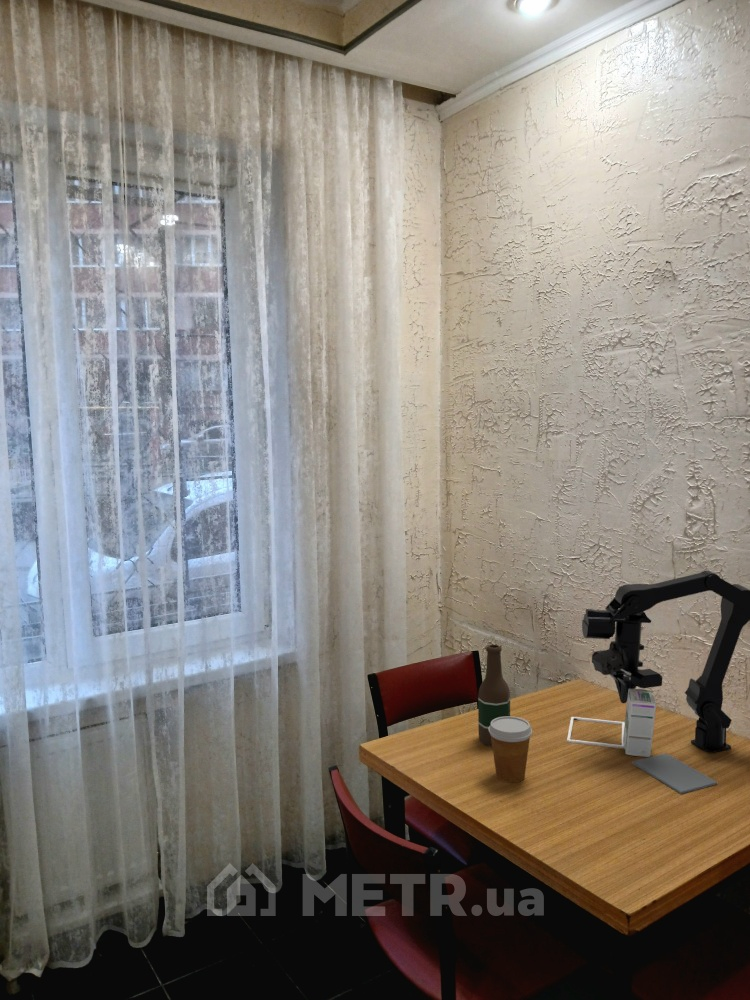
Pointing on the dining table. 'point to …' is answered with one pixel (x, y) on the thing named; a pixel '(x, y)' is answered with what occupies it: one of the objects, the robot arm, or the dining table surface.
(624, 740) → the syrup box
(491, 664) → the beer bottle
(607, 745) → the photo frame
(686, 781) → the mat
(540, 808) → the dining table surface
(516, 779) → the disposable coffee cup
